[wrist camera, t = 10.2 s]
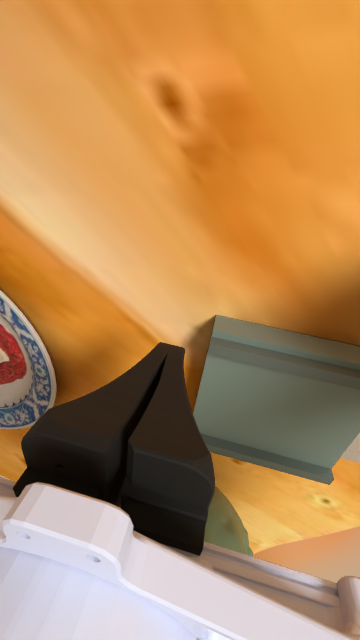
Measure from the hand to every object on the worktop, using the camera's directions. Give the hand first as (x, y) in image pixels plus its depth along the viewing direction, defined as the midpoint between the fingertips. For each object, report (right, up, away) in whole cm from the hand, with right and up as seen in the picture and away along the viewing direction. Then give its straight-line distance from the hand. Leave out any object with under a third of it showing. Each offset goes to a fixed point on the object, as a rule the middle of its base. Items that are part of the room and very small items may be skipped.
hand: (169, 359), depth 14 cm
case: (+9, -5, +12) cm, 16 cm away
